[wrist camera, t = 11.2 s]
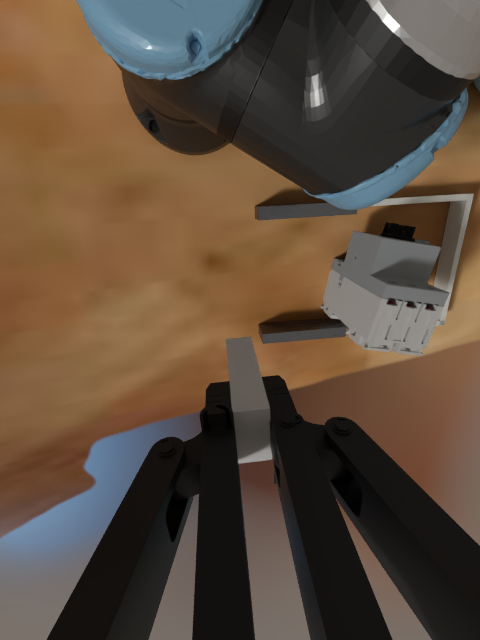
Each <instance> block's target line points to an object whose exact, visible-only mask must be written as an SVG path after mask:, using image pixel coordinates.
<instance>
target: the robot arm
mask: <svg viewBox="0 0 480 640" xmlns="http://www.w3.org/2000/svg"><path fill="white" fill-rule="evenodd" d="M76 1H77V3H78V5H79V6H80V8H81V10H82V12H83V15H84V18H85V20H86V23H87V24H88V26H89V28H90V30H91V32H92V34H93V35H94V36H95V37H96V39H97V41H98V43H99V44H100V45H102V47H103V49H104V51H105V52H106V53H107V54H108V55H109V56H111V57H112V59H113V60H114V61H115V63H116V64H117V65H118V67H119V68H120V70H121V71H122V78H123V83H124V88H125V91H126V95H127V98H128V100H129V103H130V105H131V107H132V109H133V111H134V113H135V115H136V117H137V118H138V120H139V121H140V122H141V124H142V125H143V126H144V128H145V129H146V130H147V131H148V132H149V133H150V134H151V135H152V136H153V137H154V138H155V139H156V140H157V141H159V142H160V143H161V144H163V145H164V146H166V147H167V148H169V149H171V150H173V151H176V152H179V153H182V154H187V155H204V154H208V153H212V152H214V151H217V150H219V149H221V148H222V147H224V146H225V145H227V144H228V143H229V142H230V143H232V145H234V146H235V147H237V148H239V149H240V150H242V151H244V152H245V153H247V154H248V155H250V156H252V157H253V158H255V159H256V160H258V161H260V162H261V163H263V164H265V165H266V166H268V167H269V168H271V169H273V170H274V171H276V172H278V173H279V174H281V175H282V176H284V177H286V178H287V179H289V180H290V181H292V182H294V183H295V184H297V185H299V186H300V187H302V189H303V190H304V191H305V192H306V193H307V194H308V195H310V196H314V197H315V198H321V199H323V200H324V201H326V202H328V203H330V204H332V205H334V206H335V207H337V208H341V209H346V210H356V209H362V208H366V207H369V206H372V205H374V204H376V203H379V202H381V201H382V200H384V199H386V198H388V197H390V196H391V195H393V194H394V193H396V192H397V191H399V190H400V189H402V188H403V187H404V186H406V185H407V184H408V183H410V182H411V181H412V180H413V179H414V178H416V177H417V176H418V175H419V174H420V173H421V172H422V171H423V170H424V169H425V168H426V167H427V166H428V165H429V164H430V163H431V162H432V161H433V160H434V155H433V154H434V152H436V151H437V150H438V149H440V148H442V147H444V146H445V145H447V144H448V142H449V141H450V140H451V138H452V137H453V135H454V134H455V132H456V131H457V129H458V127H459V126H460V124H461V122H462V119H463V117H464V114H465V112H466V110H467V106H468V91H467V87H468V86H469V85H470V84H471V83H472V82H473V81H474V80H475V79H476V78H477V77H478V76H479V75H480V0H76ZM226 345H227V357H228V369H229V381H227V382H218V383H210V385H209V386H208V388H207V389H206V404H205V408H204V409H203V410H202V411H201V413H200V421H201V427H202V432H201V433H200V434H199V435H197V436H196V437H195V438H192V439H190V440H188V441H185V442H183V441H182V440H180V439H179V438H176V437H167V438H164V439H161V440H159V441H158V442H157V443H155V444H154V445H153V447H152V448H151V449H150V451H149V453H148V455H147V457H146V458H145V460H144V462H143V464H142V466H141V468H140V469H139V472H138V473H137V475H136V477H135V479H134V480H133V482H132V484H131V486H130V488H129V490H128V492H127V493H126V495H125V497H124V499H123V501H122V502H121V504H120V506H119V508H118V510H117V512H116V513H115V515H114V517H113V519H112V521H111V523H110V525H109V526H108V528H107V530H106V532H105V534H104V535H103V538H102V539H101V541H100V543H99V545H98V546H97V548H96V550H95V552H94V554H93V556H92V557H91V559H90V561H89V563H88V565H87V567H86V568H85V570H84V572H83V574H82V576H81V578H80V579H79V581H78V583H77V585H76V587H75V589H74V590H73V592H72V594H71V596H70V598H69V600H68V601H67V603H66V605H65V607H64V609H63V611H62V612H61V614H60V616H59V618H58V620H57V622H56V623H55V625H54V627H53V629H52V631H51V632H50V634H49V636H48V638H47V640H148V639H149V636H150V633H151V630H152V627H153V623H154V620H155V617H156V614H157V611H158V608H159V604H160V602H161V598H162V595H163V592H164V589H165V586H166V583H167V579H168V576H169V573H170V570H171V567H172V563H173V561H174V557H175V554H176V551H177V548H178V545H179V542H180V539H181V535H182V532H183V529H184V526H185V523H186V519H187V517H188V513H189V510H190V507H191V504H192V501H193V496H194V495H197V494H199V511H198V531H197V552H196V573H195V595H194V615H193V616H194V617H193V636H192V640H255V633H254V623H253V612H252V602H251V591H250V581H249V570H248V561H247V550H246V538H245V529H244V517H243V507H242V496H241V486H240V475H239V465H238V464H239V463H247V462H255V461H264V460H271V459H272V456H273V460H274V483H277V487H278V491H279V496H280V501H281V505H282V510H283V514H284V519H285V524H286V528H287V533H288V537H289V542H290V547H291V551H292V555H293V561H294V565H295V570H296V574H297V579H298V584H299V588H300V592H301V597H302V602H303V606H304V611H305V616H306V620H307V625H308V630H309V634H310V639H311V640H392V637H391V635H390V632H389V630H388V628H387V625H386V623H385V620H384V618H383V615H382V613H381V610H380V608H379V605H378V603H377V600H376V598H375V595H374V593H373V590H372V588H371V585H370V583H369V580H368V578H367V575H366V573H365V570H364V568H363V565H362V563H361V560H360V558H359V556H358V553H357V550H356V548H355V545H354V543H353V540H352V538H351V536H350V533H349V531H348V528H347V526H346V523H345V521H344V518H343V516H342V513H341V511H340V508H339V506H338V503H337V501H338V502H339V504H340V505H341V507H342V508H343V509H344V511H345V512H346V514H347V515H348V517H349V518H350V520H351V521H352V523H353V524H354V526H355V527H356V529H357V530H358V531H359V533H360V534H361V536H362V537H363V539H364V540H365V542H366V543H367V545H368V546H369V548H370V549H371V550H372V552H373V553H374V555H375V556H376V558H377V559H378V561H379V562H380V564H381V565H382V567H383V568H384V570H385V571H386V572H387V574H388V575H389V577H390V578H391V580H392V581H393V583H394V584H395V586H396V587H397V588H398V590H399V592H400V593H401V594H402V596H403V597H404V599H405V600H406V602H407V603H408V605H409V606H410V608H411V609H412V611H413V612H414V614H415V615H416V616H417V618H418V619H419V621H420V622H421V624H422V625H423V627H424V628H425V630H426V631H427V633H428V634H429V635H430V637H431V639H432V640H480V546H479V545H478V544H477V543H476V542H475V541H474V540H473V539H472V538H471V537H470V536H469V535H468V534H467V533H466V532H465V531H464V530H463V529H462V528H461V527H460V526H459V525H458V524H457V523H456V522H455V521H454V520H453V519H452V518H451V517H450V516H449V515H448V514H447V513H446V512H445V511H444V510H443V509H442V508H441V507H440V506H439V505H438V504H437V503H436V502H434V500H433V499H432V498H431V497H430V496H429V495H428V494H427V493H426V492H425V491H424V490H423V489H422V488H421V487H420V486H419V485H418V484H417V483H416V482H415V481H414V480H413V479H412V478H411V477H410V476H409V475H408V474H407V473H406V472H405V471H403V469H402V468H401V467H399V465H397V463H395V461H394V460H392V458H390V457H389V456H388V455H387V454H386V453H385V452H384V451H383V450H382V449H381V448H380V447H379V446H378V445H377V444H376V443H375V442H374V441H373V440H372V439H371V438H370V437H369V436H368V435H367V434H366V433H365V432H364V431H363V430H362V429H361V428H360V427H359V426H358V425H357V424H356V423H355V422H353V421H352V420H350V419H347V418H344V417H333V418H331V419H329V420H327V422H326V423H325V425H318V424H312V423H309V422H306V421H305V420H304V419H303V418H302V416H301V415H299V414H298V413H297V411H296V409H295V406H294V403H293V401H292V398H291V396H290V394H289V390H288V388H287V385H286V383H285V380H283V379H282V378H281V377H280V376H279V375H276V376H267V377H261V373H260V369H259V365H258V362H257V358H256V354H255V350H254V347H253V343H252V339H251V337H242V338H232V339H226ZM336 499H337V501H336Z"/></svg>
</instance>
